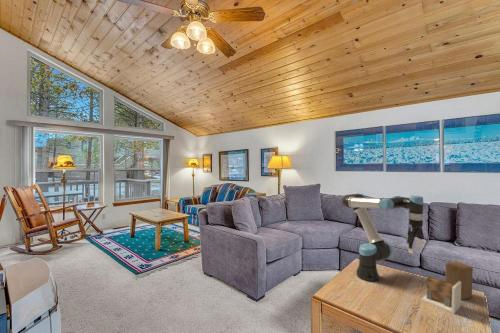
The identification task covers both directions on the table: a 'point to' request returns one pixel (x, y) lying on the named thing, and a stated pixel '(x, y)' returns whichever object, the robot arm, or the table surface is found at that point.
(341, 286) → the table surface
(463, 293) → the wooden block
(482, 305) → the table surface
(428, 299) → the l-bracket with handles
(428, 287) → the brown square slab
